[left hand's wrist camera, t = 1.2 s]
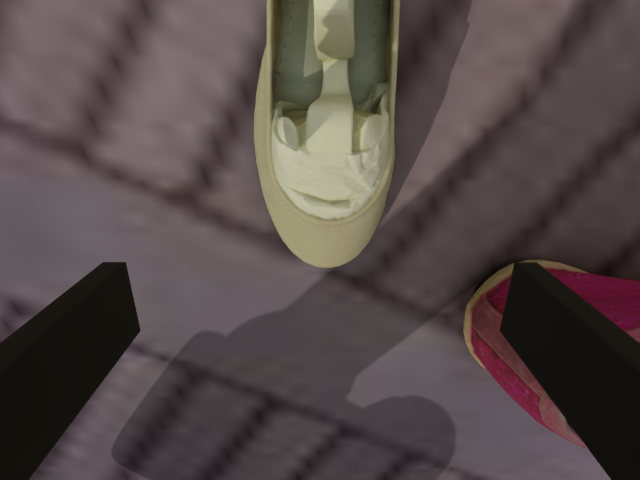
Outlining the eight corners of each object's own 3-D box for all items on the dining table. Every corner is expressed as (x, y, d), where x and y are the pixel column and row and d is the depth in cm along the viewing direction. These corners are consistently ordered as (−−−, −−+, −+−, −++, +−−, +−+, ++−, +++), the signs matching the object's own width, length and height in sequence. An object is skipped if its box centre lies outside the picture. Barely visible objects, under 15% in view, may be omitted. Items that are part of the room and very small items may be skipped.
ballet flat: (265, 258, 27) (243, 323, 19) (240, -215, 17) (181, -442, 10) (381, 259, 27) (405, 324, 19) (417, -213, 17) (489, -438, 10)
